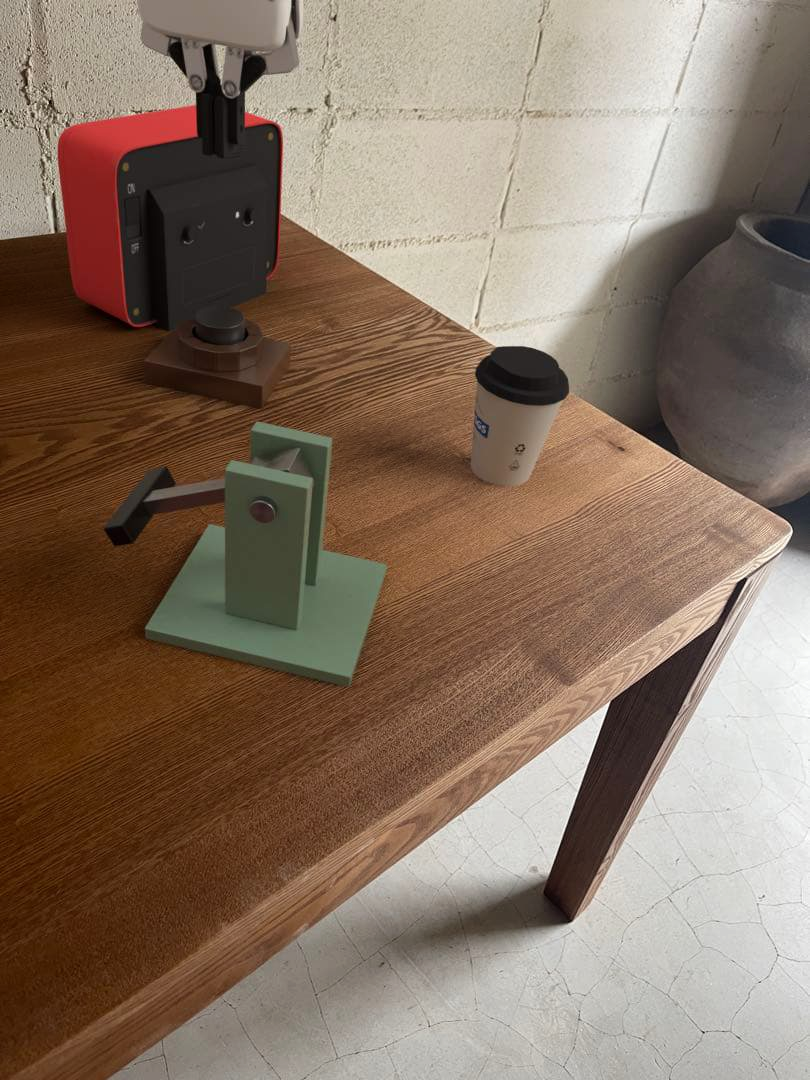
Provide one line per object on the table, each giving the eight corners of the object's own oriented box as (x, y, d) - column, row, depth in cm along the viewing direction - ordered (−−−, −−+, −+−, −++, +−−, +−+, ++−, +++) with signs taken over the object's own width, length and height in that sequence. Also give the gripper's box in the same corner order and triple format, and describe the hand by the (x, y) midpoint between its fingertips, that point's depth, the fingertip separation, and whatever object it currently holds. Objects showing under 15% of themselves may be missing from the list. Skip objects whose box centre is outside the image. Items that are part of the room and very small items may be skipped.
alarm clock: (293, 286, 89) (302, 124, 79) (143, 346, 76) (131, 159, 66) (226, 256, 93) (226, 97, 83) (71, 308, 79) (49, 125, 69)
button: (187, 341, 70) (187, 321, 69) (206, 321, 73) (205, 302, 72) (235, 351, 70) (235, 331, 69) (251, 331, 73) (251, 311, 72)
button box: (145, 384, 71) (142, 340, 69) (182, 342, 77) (181, 300, 75) (261, 409, 70) (263, 366, 68) (290, 365, 77) (292, 324, 74)
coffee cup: (549, 465, 70) (581, 354, 63) (533, 512, 64) (566, 396, 58) (466, 441, 71) (490, 330, 64) (444, 486, 65) (468, 369, 59)
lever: (118, 554, 48) (97, 520, 47) (162, 494, 53) (144, 461, 51) (294, 527, 44) (277, 489, 43) (325, 464, 49) (309, 428, 48)
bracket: (145, 646, 49) (131, 480, 42) (209, 540, 57) (206, 384, 50) (348, 695, 49) (370, 534, 41) (384, 581, 56) (409, 429, 49)
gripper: (356, -156, 53) (335, 157, 64) (124, -194, 54) (144, 121, 65) (323, -159, 47) (306, 186, 58) (64, -201, 48) (98, 146, 60)
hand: (221, 151), depth 62 cm, fingers closed
